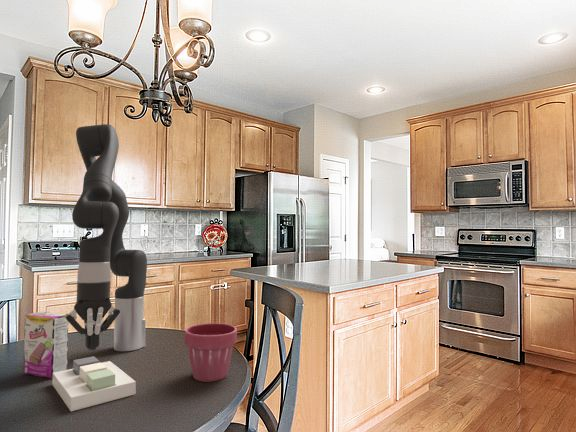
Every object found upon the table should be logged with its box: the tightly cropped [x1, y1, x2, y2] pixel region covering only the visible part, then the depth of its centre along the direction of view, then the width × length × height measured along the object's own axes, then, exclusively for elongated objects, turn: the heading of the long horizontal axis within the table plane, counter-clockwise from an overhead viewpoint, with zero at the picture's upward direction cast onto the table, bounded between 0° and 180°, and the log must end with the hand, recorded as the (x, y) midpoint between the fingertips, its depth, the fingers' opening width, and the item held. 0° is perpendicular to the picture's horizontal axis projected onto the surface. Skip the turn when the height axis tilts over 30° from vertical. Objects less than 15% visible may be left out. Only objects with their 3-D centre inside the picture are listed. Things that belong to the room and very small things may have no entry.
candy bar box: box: [22, 311, 69, 380], centre depth 108 cm, size 11×5×16 cm, turn 71°
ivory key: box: [79, 361, 107, 383], centre depth 97 cm, size 5×5×3 cm
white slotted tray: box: [51, 360, 137, 412], centre depth 97 cm, size 14×20×3 cm
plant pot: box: [183, 322, 238, 383], centre depth 107 cm, size 14×14×13 cm
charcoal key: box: [72, 356, 100, 375], centre depth 102 cm, size 5×5×3 cm
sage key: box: [86, 369, 115, 391], centre depth 92 cm, size 5×5×3 cm
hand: (91, 349), depth 97 cm, fingers closed
